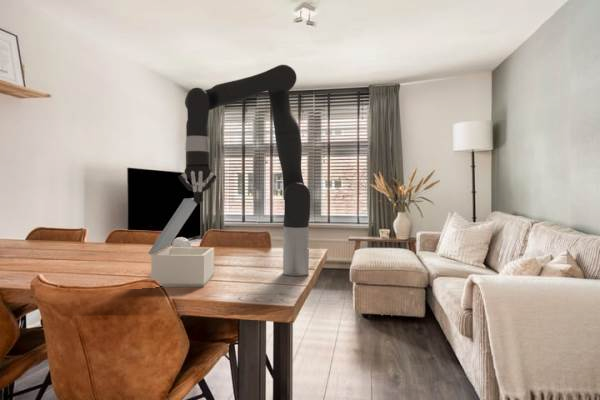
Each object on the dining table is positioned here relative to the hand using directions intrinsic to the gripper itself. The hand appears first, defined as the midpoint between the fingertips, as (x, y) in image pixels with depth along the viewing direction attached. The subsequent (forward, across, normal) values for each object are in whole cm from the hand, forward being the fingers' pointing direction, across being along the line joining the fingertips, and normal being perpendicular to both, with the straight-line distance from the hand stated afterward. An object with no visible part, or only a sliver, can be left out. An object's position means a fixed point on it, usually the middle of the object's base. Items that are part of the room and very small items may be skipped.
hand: (198, 203), depth 117 cm
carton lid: (+7, +7, 0) cm, 10 cm away
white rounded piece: (+26, +11, -17) cm, 33 cm away
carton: (+26, +5, 0) cm, 26 cm away
